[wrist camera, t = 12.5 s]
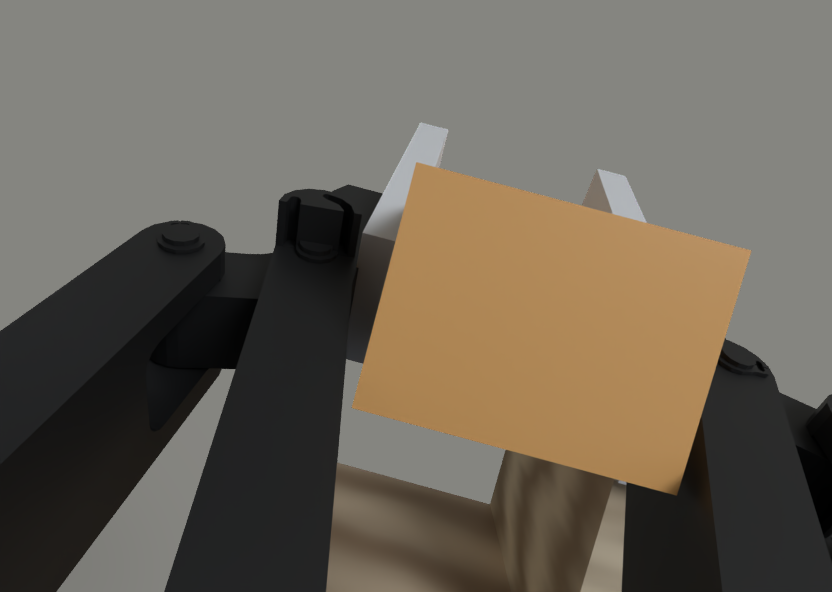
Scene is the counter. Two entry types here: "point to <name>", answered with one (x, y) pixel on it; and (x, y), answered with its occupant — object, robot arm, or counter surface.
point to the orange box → (549, 328)
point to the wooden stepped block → (479, 533)
